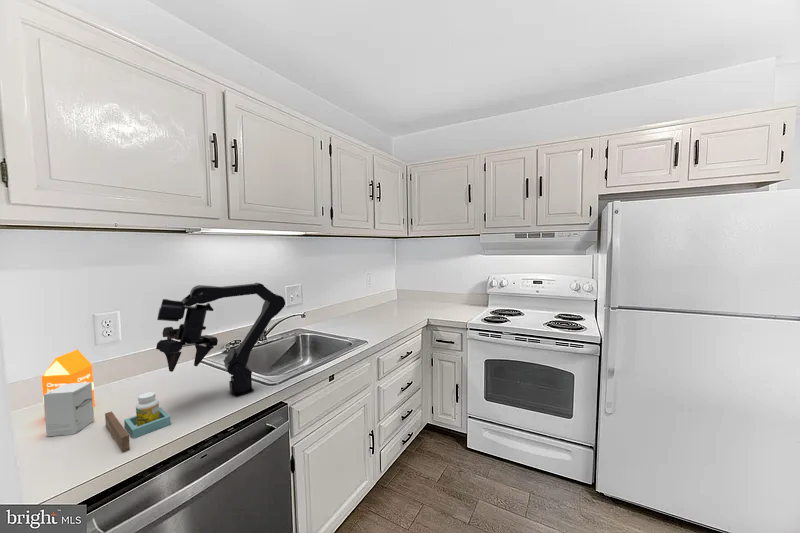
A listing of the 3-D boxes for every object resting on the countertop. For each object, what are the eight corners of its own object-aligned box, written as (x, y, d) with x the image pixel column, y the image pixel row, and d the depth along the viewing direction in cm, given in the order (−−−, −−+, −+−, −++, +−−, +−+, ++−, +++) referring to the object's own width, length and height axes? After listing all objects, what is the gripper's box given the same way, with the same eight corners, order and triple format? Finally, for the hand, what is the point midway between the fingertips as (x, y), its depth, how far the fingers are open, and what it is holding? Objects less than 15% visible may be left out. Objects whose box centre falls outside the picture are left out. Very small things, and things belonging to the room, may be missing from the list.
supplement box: (75, 434, 91) (72, 392, 91) (45, 437, 90) (41, 394, 89) (95, 420, 99) (92, 381, 98) (67, 422, 97) (64, 383, 97)
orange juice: (44, 422, 98) (39, 359, 96) (69, 408, 106) (64, 349, 105) (73, 420, 99) (69, 357, 98) (95, 406, 108) (91, 348, 106)
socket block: (161, 414, 102) (160, 407, 102) (170, 424, 96) (170, 416, 96) (124, 427, 95) (124, 419, 95) (132, 438, 89) (132, 430, 89)
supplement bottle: (164, 421, 98) (162, 391, 98) (149, 431, 93) (148, 399, 92) (147, 420, 99) (145, 390, 98) (132, 430, 93) (130, 399, 93)
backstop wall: (112, 423, 97) (111, 411, 96) (129, 449, 84) (128, 435, 84) (105, 426, 96) (105, 413, 95) (122, 452, 83) (121, 437, 83)
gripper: (198, 316, 118) (189, 358, 117) (148, 319, 100) (137, 368, 99) (222, 322, 116) (213, 365, 114) (175, 326, 98) (164, 377, 96)
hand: (183, 368), depth 106 cm, fingers open, 9 cm apart
